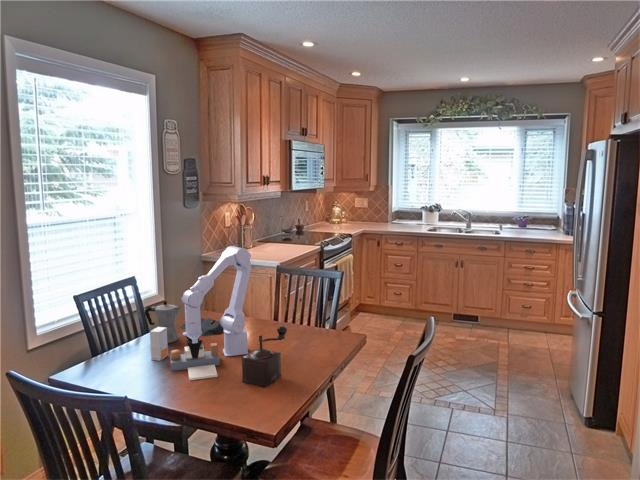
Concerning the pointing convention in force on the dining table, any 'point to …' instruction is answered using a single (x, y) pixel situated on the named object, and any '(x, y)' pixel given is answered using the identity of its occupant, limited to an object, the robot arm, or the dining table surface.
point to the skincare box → (158, 343)
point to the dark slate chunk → (208, 327)
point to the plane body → (181, 363)
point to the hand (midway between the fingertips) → (194, 355)
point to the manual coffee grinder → (263, 363)
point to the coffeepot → (165, 319)
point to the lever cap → (189, 356)
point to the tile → (202, 372)
